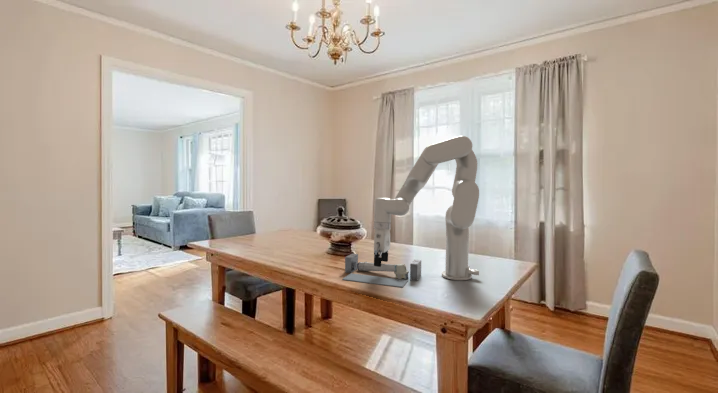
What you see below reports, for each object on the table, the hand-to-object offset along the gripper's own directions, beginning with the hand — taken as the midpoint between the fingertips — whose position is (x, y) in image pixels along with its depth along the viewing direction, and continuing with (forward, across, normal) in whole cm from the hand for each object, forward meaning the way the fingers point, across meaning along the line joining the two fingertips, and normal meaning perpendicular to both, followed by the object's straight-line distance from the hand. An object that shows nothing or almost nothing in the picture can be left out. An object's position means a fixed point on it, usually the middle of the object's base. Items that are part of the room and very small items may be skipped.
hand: (381, 263), depth 151 cm
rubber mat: (+5, -10, -1) cm, 11 cm away
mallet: (+5, 0, -1) cm, 5 cm away
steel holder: (+5, 0, -1) cm, 5 cm away
